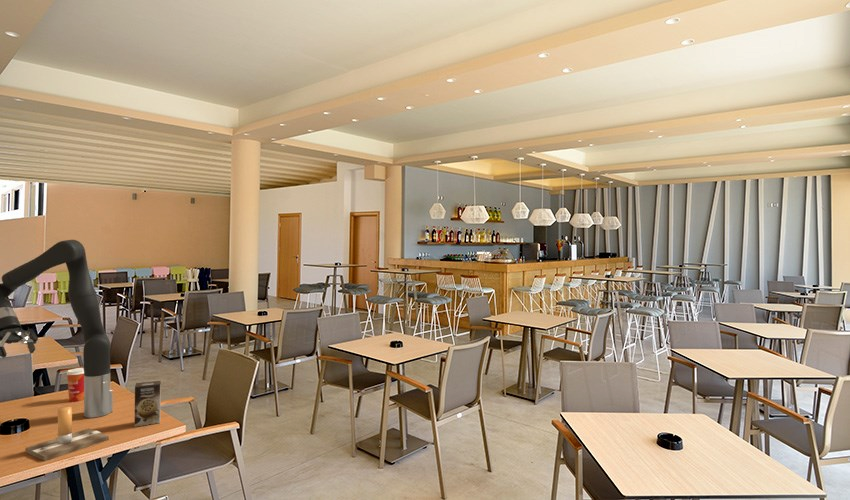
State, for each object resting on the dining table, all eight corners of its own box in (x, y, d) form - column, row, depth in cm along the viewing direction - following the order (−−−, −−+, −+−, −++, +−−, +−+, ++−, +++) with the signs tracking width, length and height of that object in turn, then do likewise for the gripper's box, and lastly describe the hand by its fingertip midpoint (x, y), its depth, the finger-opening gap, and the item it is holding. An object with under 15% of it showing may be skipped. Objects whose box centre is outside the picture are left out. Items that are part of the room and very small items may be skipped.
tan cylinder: (68, 438, 172) (68, 406, 172) (74, 441, 170) (74, 407, 170) (55, 442, 169) (55, 409, 169) (61, 445, 167) (61, 411, 167)
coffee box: (134, 427, 188) (133, 386, 187) (135, 421, 193) (135, 382, 193) (160, 423, 192) (160, 383, 192) (160, 418, 198) (160, 379, 197)
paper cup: (62, 401, 218) (62, 371, 217) (80, 396, 225) (79, 367, 225) (73, 403, 215) (73, 372, 214) (90, 398, 222) (90, 368, 222)
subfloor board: (88, 432, 183) (88, 427, 183) (108, 439, 176) (108, 434, 176) (25, 451, 165) (25, 446, 165) (44, 461, 158) (44, 455, 158)
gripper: (-16, 317, 178) (-2, 351, 172) (30, 313, 190) (44, 344, 185) (-22, 330, 180) (-8, 364, 175) (24, 324, 193) (38, 356, 187)
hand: (19, 354), depth 180 cm, fingers open, 8 cm apart
